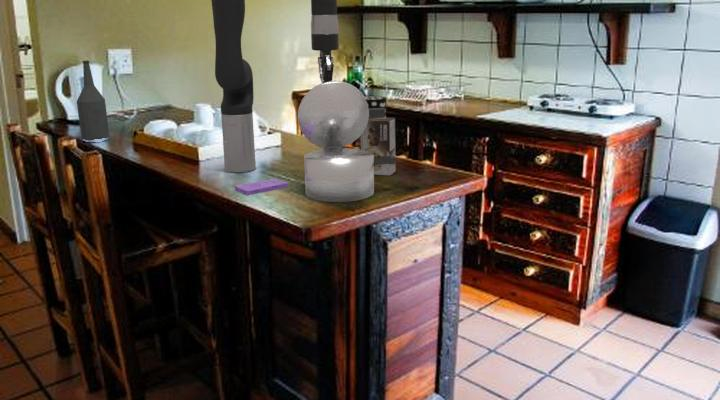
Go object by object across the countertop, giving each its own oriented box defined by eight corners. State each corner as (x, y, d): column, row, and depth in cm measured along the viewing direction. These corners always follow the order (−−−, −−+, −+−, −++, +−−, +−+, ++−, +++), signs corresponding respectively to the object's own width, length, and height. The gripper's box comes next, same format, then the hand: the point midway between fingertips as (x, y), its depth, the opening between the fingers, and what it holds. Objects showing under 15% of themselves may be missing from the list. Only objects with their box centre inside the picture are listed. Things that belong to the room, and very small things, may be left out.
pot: (310, 204, 154) (308, 164, 151) (301, 185, 171) (300, 150, 168) (403, 197, 159) (404, 159, 156) (386, 180, 176) (386, 145, 173)
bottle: (76, 141, 237) (65, 61, 229) (98, 137, 245) (88, 59, 237) (93, 144, 232) (82, 61, 223) (115, 139, 240) (106, 60, 231)
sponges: (288, 189, 170) (288, 182, 169) (246, 197, 162) (246, 190, 162) (275, 184, 175) (275, 177, 175) (234, 191, 168) (234, 185, 167)
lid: (298, 83, 158) (296, 79, 161) (298, 152, 168) (297, 147, 171) (387, 80, 163) (384, 76, 166) (383, 148, 173) (380, 142, 176)
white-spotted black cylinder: (359, 158, 204) (358, 96, 198) (384, 157, 205) (384, 96, 199) (361, 163, 196) (360, 100, 190) (387, 163, 197) (387, 99, 191)
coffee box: (396, 171, 186) (396, 117, 182) (390, 176, 181) (390, 120, 176) (367, 169, 189) (367, 116, 185) (360, 173, 183) (359, 119, 179)
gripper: (308, 32, 177) (310, 93, 182) (314, 33, 164) (316, 99, 169) (334, 31, 178) (335, 92, 183) (342, 32, 166) (343, 98, 171)
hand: (326, 95), depth 176 cm, fingers closed
